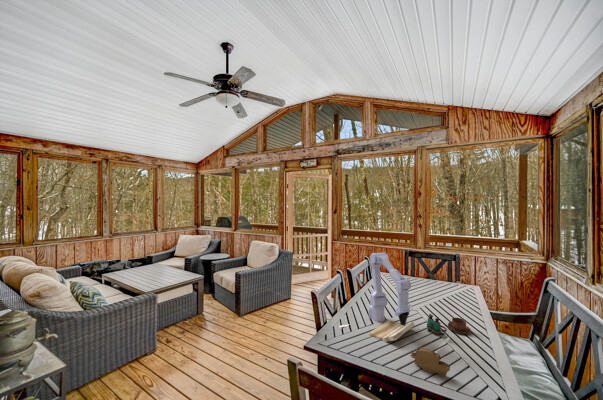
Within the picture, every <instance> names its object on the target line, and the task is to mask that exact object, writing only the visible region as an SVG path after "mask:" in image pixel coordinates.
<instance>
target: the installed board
mask: <svg viewBox="0 0 603 400" xmlns="http://www.w3.org/2000/svg"><path fill="white" fill-rule="evenodd" d="M400 325H401V324H400V322H396V321H394V320H391V319H388V320H387V321H385V322H384V323H382V324H381V325H379V326H378V327H376V328H375V329H373V330H371V331H370V332H368V335H369V336H371V337H374V338H376V339H378V340H380V341H381V342H384V341H383V340H382V338H383V337H385V336H386V335H388V334H389V333H390V332H392V331H393V330H395V329H396V328H397V327H399V326H400Z"/></svg>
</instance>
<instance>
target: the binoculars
mask: <svg viewBox="0 0 603 400" xmlns="http://www.w3.org/2000/svg"><path fill="white" fill-rule="evenodd" d="M433 318H434V315H433V314H431V313H429V314H428V318H427V321H426V328H427V330H426V332H428V333H432V332H433V333H432V334H433V335H434V336H436V337H439V336H444V335H445V332H447V331H448V330H447V329H448V328H446V326H443V325H441V322H440V318H439V317H438V318H434V319H433ZM433 335H432V336H433Z"/></svg>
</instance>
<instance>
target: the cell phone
mask: <svg viewBox="0 0 603 400" xmlns="http://www.w3.org/2000/svg"><path fill="white" fill-rule="evenodd" d="M349 325H350V324H349V323H348V324H342V325H338V326H339V327H338V328H339V329H340V328H341V329H340V330H343V329H345V328H347V327H348V326H349Z"/></svg>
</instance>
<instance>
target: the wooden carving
mask: <svg viewBox="0 0 603 400" xmlns="http://www.w3.org/2000/svg"><path fill="white" fill-rule="evenodd" d="M409 356H410V357H411V358H412V359H414V360H413V363H414V364H415V365H416V366H418V367H419V368H420V369H422V370H424V371H426V372H428V373H430V374H431V373H432V374H439V375H441V376H443V377H446V376H447V374H448V372H450V370H451V366H450V365H449V364H448V363H447V362H445V361H444V360H443V361H442V360H441V355H440V354H439V353H436V352H435V351H433V350H431V349H428V348H425V347H417V348H416V350H415V352H414V351H413V352H411V353H410V355H409Z"/></svg>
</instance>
